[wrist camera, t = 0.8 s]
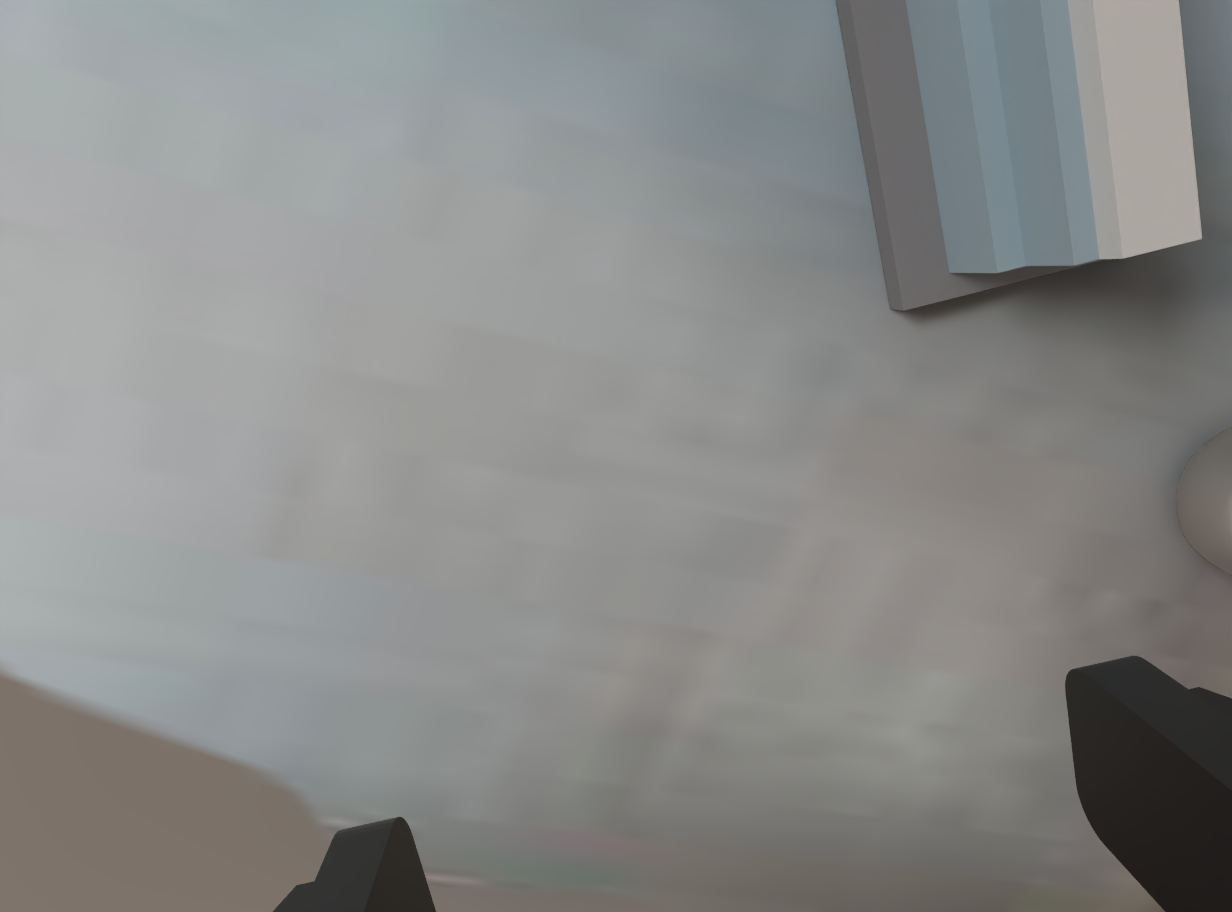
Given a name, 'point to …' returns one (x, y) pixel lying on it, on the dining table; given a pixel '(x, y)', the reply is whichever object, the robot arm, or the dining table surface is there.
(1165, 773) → the robot arm
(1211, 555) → the plastic bottle
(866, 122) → the fulcrum ridge
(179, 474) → the dining table surface
